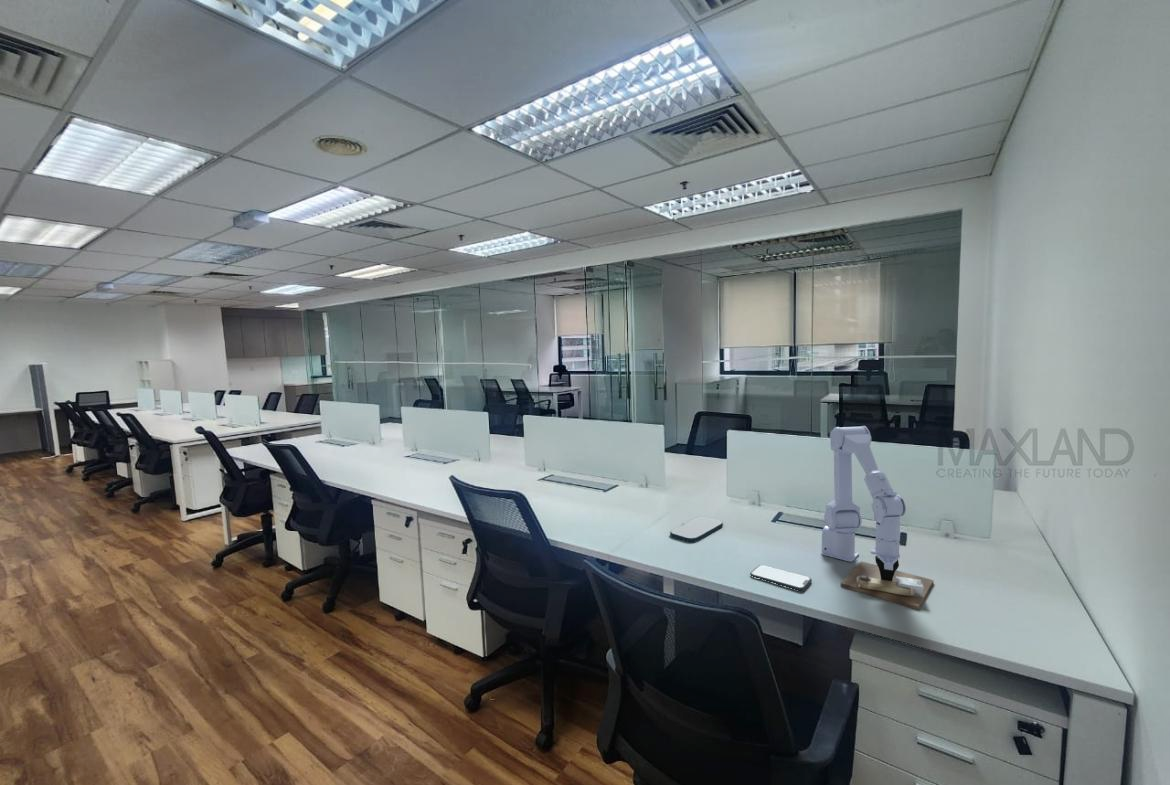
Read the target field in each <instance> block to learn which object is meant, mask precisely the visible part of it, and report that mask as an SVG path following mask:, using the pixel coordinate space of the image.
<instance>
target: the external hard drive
mask: <svg viewBox="0 0 1170 785" xmlns="http://www.w3.org/2000/svg"><path fill="white" fill-rule="evenodd" d="M723 526H724V523H723V521H722V520H721V519H717V518H713V517H709V516H702V515H701V516H697V517H694V518H693V519H690V520H688V521H686V522H684V523H682V524H681V525H679V526H676V527H674V528H672V529H671V530H670V533H669V534H670V538H673V539H676V538H677V539H676V540H679V539H680V540H679V541H682V540H684V541H683V542H686V541H688V542H687V543H696V542H695V541H697V542H699V541H701V540H702V539H704V538H706V537H708V536H709V534H710V535H711V534H713V533H715V532H717V531H718V530H720V529H721V527H722V528H723ZM719 528H720V529H719ZM716 530H717V531H716ZM714 531H715V532H714ZM712 532H713V533H712ZM707 535H708V536H707ZM700 539H701V540H700ZM698 540H699V541H698Z"/></svg>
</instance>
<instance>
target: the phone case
mask: <svg viewBox="0 0 1170 785" xmlns="http://www.w3.org/2000/svg"><path fill="white" fill-rule="evenodd" d="M750 575H751V576H753V577H756V578H760V579H763V580H766V581H769V582H773V583H776V584H778V585H782V586H786V587H789V588H792V589H795V590H798V591H804V590H805V589H806V588H807V589H808V588H809V587H810V585H811V584H812V583H811V582H813V580H812V578H811V577H810V576H806V575H802V574H799V573H794V572H790V571H787V570H785V569H784V570H783V569H779V568H776V567H773V566H769V565H764V564H759V565H758V566H756V567H755V568H754V569H753V570H752V571H751V572H750V573H749V576H750ZM810 583H811V584H810ZM778 585H777V586H778ZM807 589H806V590H807ZM806 590H805V591H806ZM798 591H797V592H798ZM805 591H804V592H805Z"/></svg>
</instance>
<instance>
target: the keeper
mask: <svg viewBox="0 0 1170 785" xmlns="http://www.w3.org/2000/svg"><path fill="white" fill-rule="evenodd" d="M896 581H897V584H898V586H901V587H907V588H912V593H913V596H915V597H921V598H923V590H924V587H923V584H922V582H921V580H919V579H912V578H905V577H898V576H896Z"/></svg>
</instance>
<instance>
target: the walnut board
mask: <svg viewBox="0 0 1170 785" xmlns="http://www.w3.org/2000/svg"><path fill="white" fill-rule="evenodd" d="M861 575H863V576H867V577H869V578H875V579H881V576H880V571H879V568H878V566H877V564H874V563H870V562H866V561H862V560H861V561H859V563H858V564H857V565H856V566H855V567H854V568H853V569H852V570H851V571H850V573H849V574H847V576H846V577H845V578H844V579H843V580H842V581H841V582H840V587H841V586H842V588H845V589H847V590H848V589H849V590H853V591H854V592H855V591H856V592H858V593H862V594H866V595H868V596H871V597H875V598H878V599H882V600H885V601H888V602H891V603H894V604H897V605H900V606H905V607H909V608H911V609H914V610H918V611H919V609H920V608H921V606H922V605H923V602H924V601H925V599H926V597H927V595H928V593H929V592H930V590H931V588H932V586H933V585H934V579H930V578H928V577H923V576H919V575H916V574H911V573H908V572H904V571H900V570H898V569H897V570H896V571H895V573H894V576H893V580H892V581H893V582H897V581H896V576H898V577H905V578H912V579H919V580H921V582H922V584H923V587H924V590H923V598H921V597H915V596H913V593H912V588H911V596H906V595H900V594H895V593H889V592H884V591H878V590H872V589H864V588H861V587H858V586H857V577H858V576H861Z"/></svg>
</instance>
